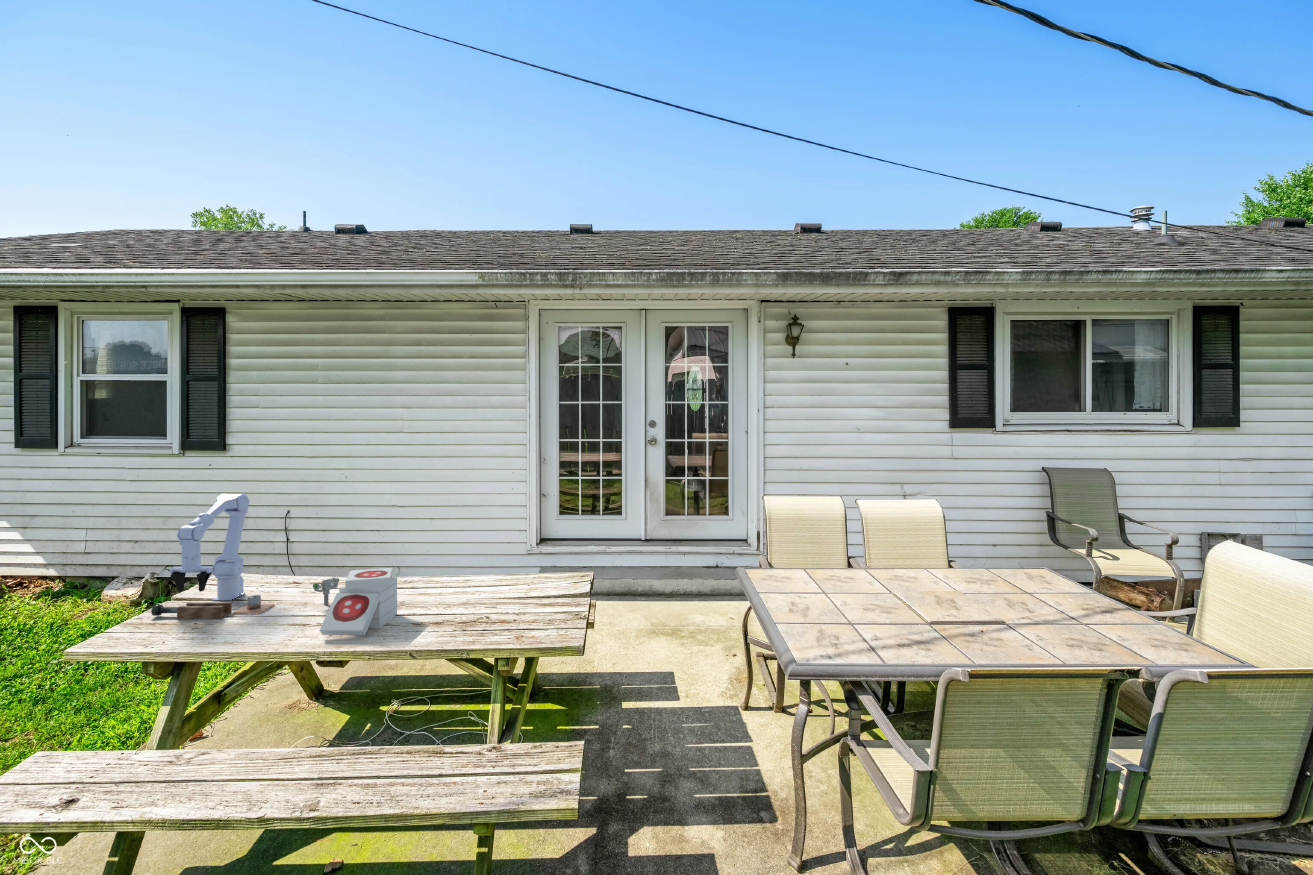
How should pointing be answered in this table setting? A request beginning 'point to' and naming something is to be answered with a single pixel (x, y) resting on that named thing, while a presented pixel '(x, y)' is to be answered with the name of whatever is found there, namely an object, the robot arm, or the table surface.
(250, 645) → the table surface
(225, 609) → the shaft housing
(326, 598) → the mechanical component
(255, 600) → the block
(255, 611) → the terracotta tile
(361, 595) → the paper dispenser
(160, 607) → the shaft
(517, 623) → the table surface
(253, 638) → the table surface
